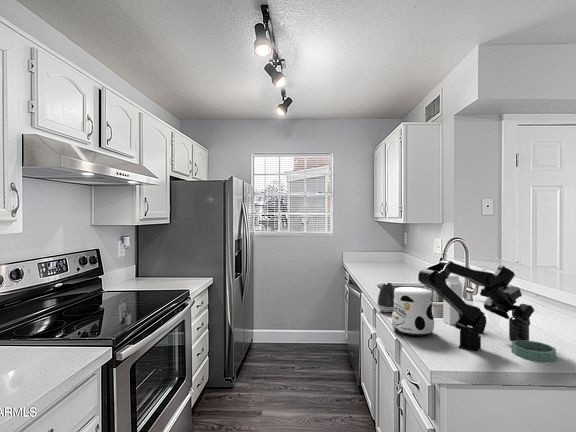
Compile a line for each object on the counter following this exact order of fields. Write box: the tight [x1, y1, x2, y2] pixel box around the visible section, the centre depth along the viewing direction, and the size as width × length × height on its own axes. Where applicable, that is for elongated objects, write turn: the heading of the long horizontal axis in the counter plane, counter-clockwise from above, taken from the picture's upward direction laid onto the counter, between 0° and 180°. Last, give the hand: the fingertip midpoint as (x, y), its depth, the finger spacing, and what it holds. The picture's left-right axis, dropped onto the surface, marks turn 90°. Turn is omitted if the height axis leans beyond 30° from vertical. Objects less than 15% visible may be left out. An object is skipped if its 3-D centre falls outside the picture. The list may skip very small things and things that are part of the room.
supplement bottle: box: [508, 311, 530, 342], centre depth 147 cm, size 7×7×12 cm
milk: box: [442, 275, 463, 326], centre depth 172 cm, size 6×6×22 cm
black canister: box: [377, 282, 395, 313], centre depth 192 cm, size 10×10×15 cm
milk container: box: [391, 286, 435, 337], centre depth 157 cm, size 17×17×18 cm
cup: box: [511, 339, 557, 363], centre depth 132 cm, size 13×13×3 cm
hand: (518, 321), depth 147 cm, fingers open, 9 cm apart
